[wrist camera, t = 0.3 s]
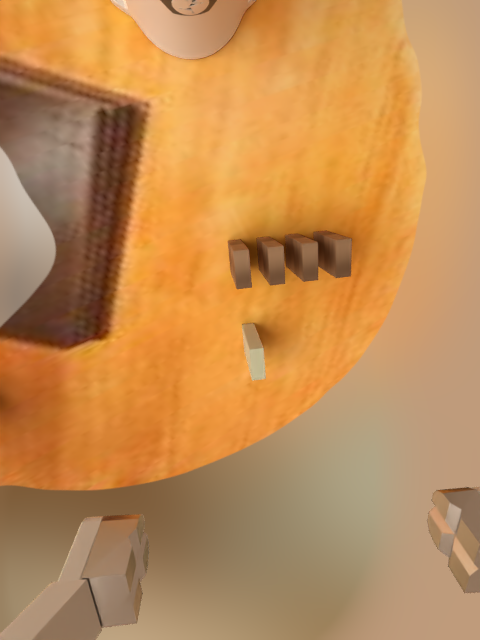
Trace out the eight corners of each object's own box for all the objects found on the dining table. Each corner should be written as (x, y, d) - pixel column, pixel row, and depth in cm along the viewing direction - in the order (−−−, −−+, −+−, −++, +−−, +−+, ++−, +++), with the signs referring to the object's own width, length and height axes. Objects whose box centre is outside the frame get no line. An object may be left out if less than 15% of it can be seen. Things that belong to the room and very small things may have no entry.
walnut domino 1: (227, 240, 54) (233, 251, 44) (240, 239, 54) (248, 249, 44) (230, 272, 55) (236, 289, 46) (243, 271, 55) (251, 287, 46)
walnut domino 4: (313, 231, 54) (336, 240, 45) (326, 230, 55) (351, 238, 45) (313, 263, 56) (336, 277, 47) (326, 262, 56) (350, 276, 47)
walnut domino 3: (285, 234, 54) (302, 243, 45) (297, 233, 54) (317, 242, 45) (286, 266, 56) (303, 281, 47) (298, 265, 56) (318, 279, 47)
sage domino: (241, 324, 59) (249, 349, 49) (253, 323, 59) (263, 347, 49) (244, 351, 60) (252, 380, 51) (255, 349, 60) (265, 378, 51)
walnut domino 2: (256, 237, 54) (268, 247, 44) (269, 236, 54) (283, 245, 45) (258, 269, 56) (270, 285, 46) (271, 268, 56) (285, 283, 46)
